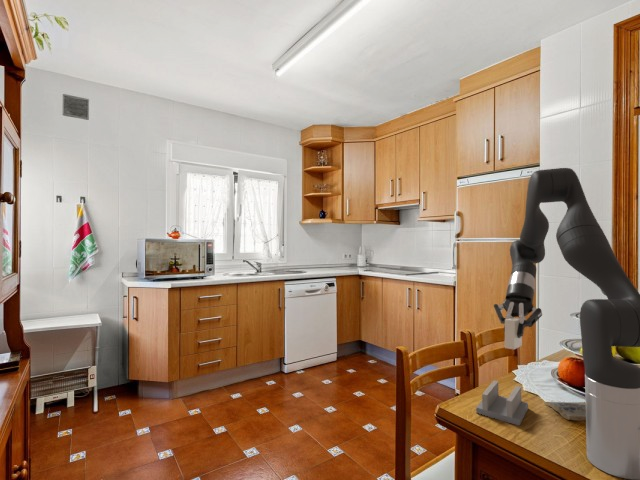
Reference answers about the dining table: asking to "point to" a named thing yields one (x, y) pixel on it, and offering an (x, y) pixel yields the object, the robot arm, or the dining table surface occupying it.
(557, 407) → the ceramic fragment
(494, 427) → the dining table surface
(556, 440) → the dining table surface
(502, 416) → the grey twin-fin stand
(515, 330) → the cream rectangular slab
